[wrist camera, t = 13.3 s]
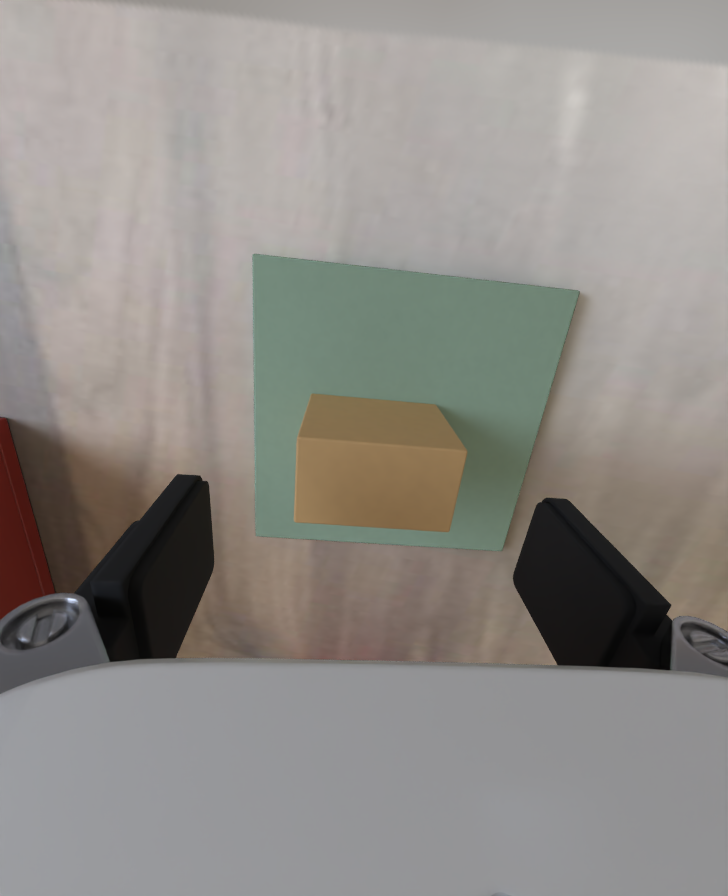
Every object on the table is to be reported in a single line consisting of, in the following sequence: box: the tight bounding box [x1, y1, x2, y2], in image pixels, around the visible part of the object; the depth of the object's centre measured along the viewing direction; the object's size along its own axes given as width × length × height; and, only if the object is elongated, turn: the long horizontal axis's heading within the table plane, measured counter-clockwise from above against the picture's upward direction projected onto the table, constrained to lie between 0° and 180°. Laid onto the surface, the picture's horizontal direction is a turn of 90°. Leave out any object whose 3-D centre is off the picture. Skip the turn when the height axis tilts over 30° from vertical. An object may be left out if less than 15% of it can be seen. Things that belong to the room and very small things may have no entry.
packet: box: [294, 394, 468, 532], centre depth 17 cm, size 4×6×6 cm, turn 84°
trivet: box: [253, 254, 580, 551], centre depth 19 cm, size 14×14×1 cm
